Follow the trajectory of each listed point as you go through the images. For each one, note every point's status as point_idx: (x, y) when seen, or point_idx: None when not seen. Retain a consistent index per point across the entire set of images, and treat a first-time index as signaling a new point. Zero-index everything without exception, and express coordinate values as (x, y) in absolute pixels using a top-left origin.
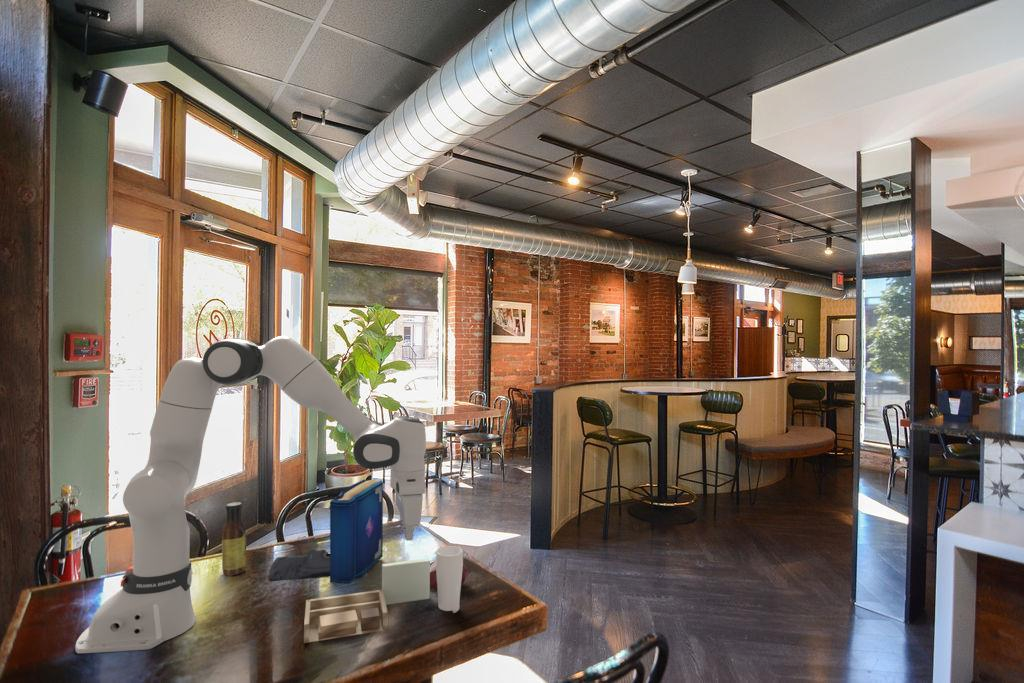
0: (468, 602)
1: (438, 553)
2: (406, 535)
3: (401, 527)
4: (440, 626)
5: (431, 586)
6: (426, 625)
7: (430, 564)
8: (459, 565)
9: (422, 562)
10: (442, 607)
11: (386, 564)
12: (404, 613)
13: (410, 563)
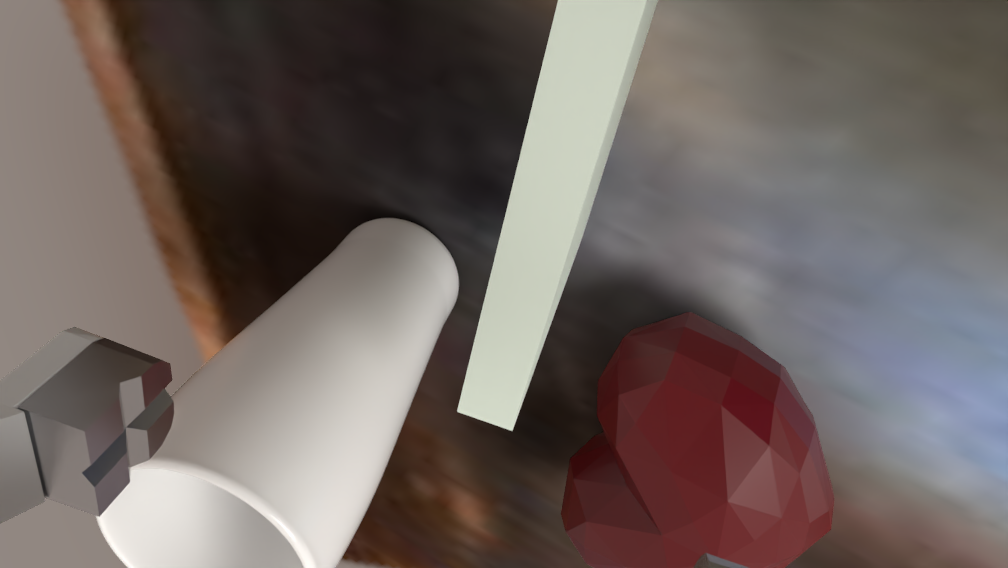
0: (438, 384)
1: (167, 467)
2: (13, 378)
3: (704, 557)
4: (255, 144)
5: (649, 324)
6: (291, 82)
7: (744, 446)
8: (175, 485)
9: (471, 355)
10: (351, 236)
11: (606, 25)
12: (494, 28)
13: (494, 261)
